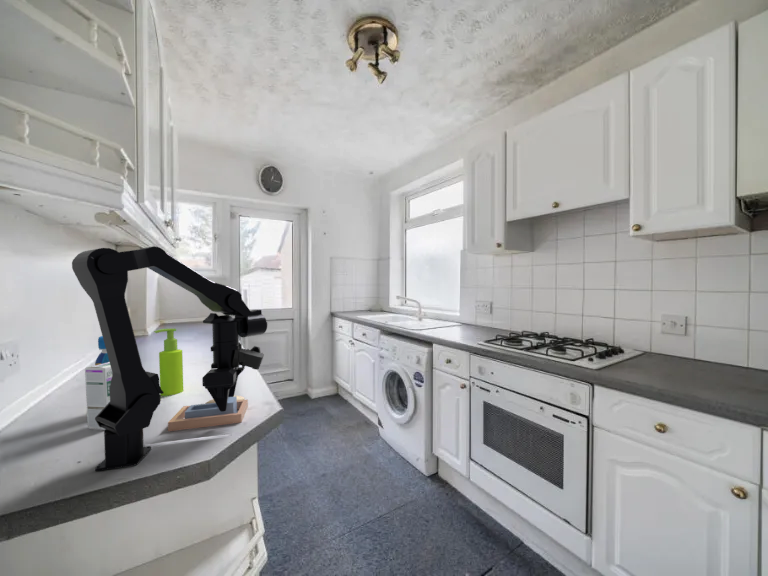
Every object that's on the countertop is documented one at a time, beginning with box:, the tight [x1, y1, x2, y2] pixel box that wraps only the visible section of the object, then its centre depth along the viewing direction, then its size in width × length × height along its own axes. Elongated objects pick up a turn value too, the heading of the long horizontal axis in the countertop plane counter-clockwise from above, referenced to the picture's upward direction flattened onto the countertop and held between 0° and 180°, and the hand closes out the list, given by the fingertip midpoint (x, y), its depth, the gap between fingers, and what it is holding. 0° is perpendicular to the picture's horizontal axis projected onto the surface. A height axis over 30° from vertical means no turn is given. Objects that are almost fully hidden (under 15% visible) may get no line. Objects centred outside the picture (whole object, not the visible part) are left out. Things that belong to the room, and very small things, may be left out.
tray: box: [167, 399, 249, 432], centre depth 78 cm, size 10×15×2 cm, turn 105°
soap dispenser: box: [153, 328, 184, 397], centre depth 98 cm, size 6×7×20 cm
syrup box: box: [84, 362, 112, 431], centre depth 77 cm, size 6×6×14 cm
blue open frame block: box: [184, 395, 238, 419], centre depth 78 cm, size 10×5×4 cm, turn 106°
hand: (227, 404), depth 79 cm, fingers open, 9 cm apart
